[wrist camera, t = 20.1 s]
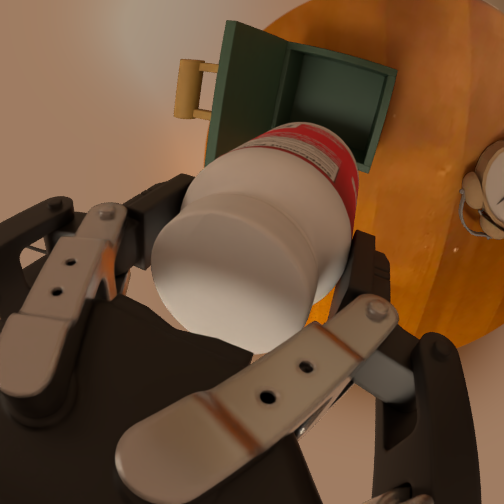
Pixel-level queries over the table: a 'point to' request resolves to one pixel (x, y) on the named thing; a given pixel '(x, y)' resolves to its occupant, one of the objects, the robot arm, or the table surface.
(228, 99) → the lid
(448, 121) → the table surface
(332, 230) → the pill bottle
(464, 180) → the alarm clock
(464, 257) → the table surface
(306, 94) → the chest
